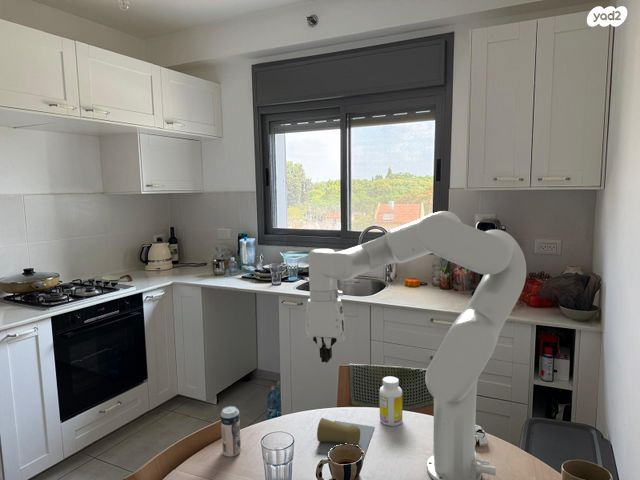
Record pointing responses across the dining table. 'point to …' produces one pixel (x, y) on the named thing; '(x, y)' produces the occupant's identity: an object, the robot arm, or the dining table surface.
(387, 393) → the supplement bottle
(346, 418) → the dining table surface
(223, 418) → the beer can
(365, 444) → the mat
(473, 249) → the robot arm
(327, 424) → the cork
